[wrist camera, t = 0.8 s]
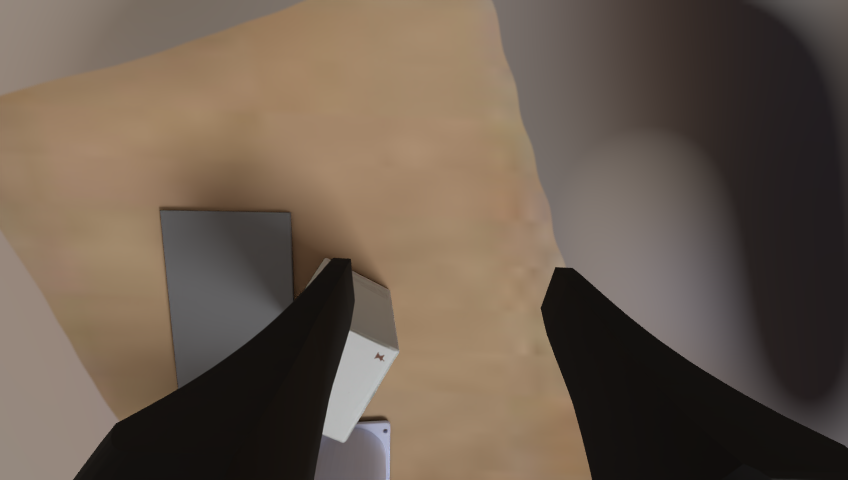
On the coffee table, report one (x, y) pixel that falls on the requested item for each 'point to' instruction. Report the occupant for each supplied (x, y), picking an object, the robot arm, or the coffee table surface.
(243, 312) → the mat
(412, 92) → the coffee table surface
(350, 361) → the supplement box
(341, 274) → the robot arm
